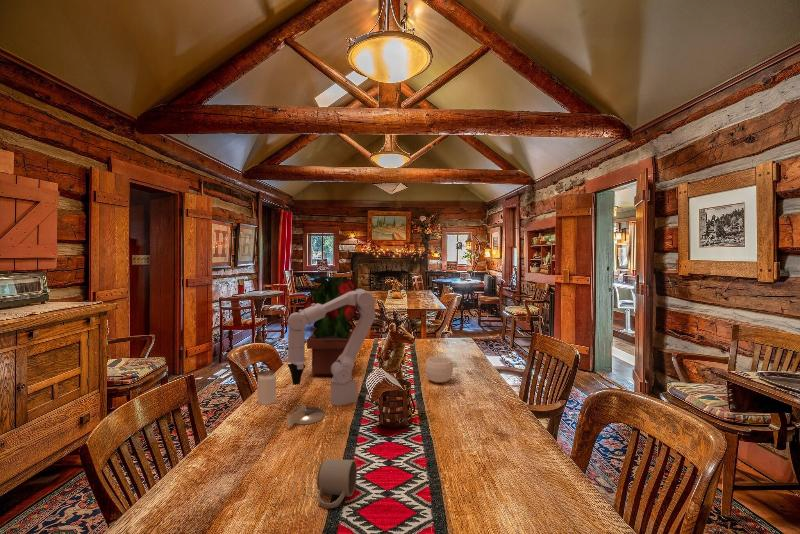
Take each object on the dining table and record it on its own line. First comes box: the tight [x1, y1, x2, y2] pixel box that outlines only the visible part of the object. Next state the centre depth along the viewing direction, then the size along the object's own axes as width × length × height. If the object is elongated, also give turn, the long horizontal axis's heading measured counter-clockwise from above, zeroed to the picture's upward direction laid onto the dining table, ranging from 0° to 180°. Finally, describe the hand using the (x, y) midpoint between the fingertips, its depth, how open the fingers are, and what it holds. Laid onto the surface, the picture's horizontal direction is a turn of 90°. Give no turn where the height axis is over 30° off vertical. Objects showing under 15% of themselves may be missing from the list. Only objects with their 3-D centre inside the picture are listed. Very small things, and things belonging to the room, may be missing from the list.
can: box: [257, 370, 277, 406], centre depth 149 cm, size 6×6×12 cm
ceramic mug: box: [316, 458, 358, 509], centre depth 95 cm, size 11×8×8 cm
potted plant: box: [303, 275, 359, 378], centre depth 189 cm, size 22×22×45 cm
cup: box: [424, 356, 454, 384], centre depth 179 cm, size 12×12×10 cm
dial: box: [286, 403, 325, 427], centre depth 134 cm, size 16×12×5 cm
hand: (296, 383), depth 145 cm, fingers closed
